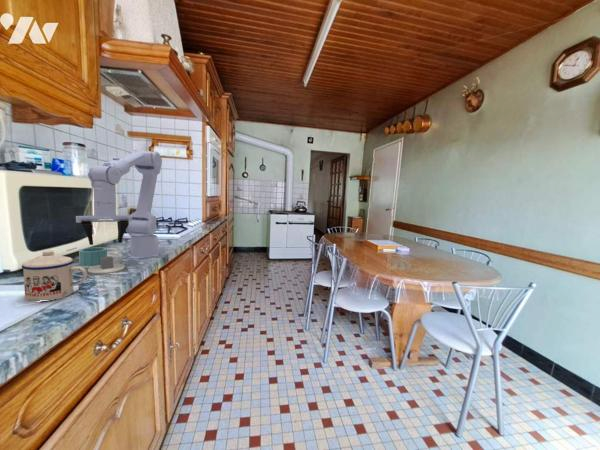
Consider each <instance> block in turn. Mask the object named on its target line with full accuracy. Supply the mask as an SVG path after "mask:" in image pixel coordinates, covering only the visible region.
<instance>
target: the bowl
mask: <svg viewBox="0 0 600 450" xmlns="http://www.w3.org/2000/svg"><path fill="white" fill-rule="evenodd" d="M100 257H108V248H107V247H102V246H101V247H98V246H97V247H85V248H81V249H79V250H78V258H79V259H78V260H79V265H80V266H81V267H82V266H84V267H93V266H96V265H100Z"/></svg>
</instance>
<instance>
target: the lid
mask: <svg viewBox="0 0 600 450" xmlns="http://www.w3.org/2000/svg"><path fill="white" fill-rule="evenodd" d="M89 267H90V268H89ZM89 267H87V268H88V272H89V273H93V274H102V275H105V274H104V273H109V274H113V272H115V273H118V272H117V271H121V270H123V269H124V268H125V267H126V266H125V264H123V263H122V264H121V263H114V258H113V256H107V257H100V265H94V266H89Z"/></svg>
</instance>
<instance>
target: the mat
mask: <svg viewBox="0 0 600 450" xmlns="http://www.w3.org/2000/svg"><path fill="white" fill-rule="evenodd" d="M120 264H123V263H120ZM90 267H91V266H88V267H84V269H85V270H86V271H87V275H88V276H89V277H94V276H100V275H101V276H102V275H107V274H110V273H104V274H93V273H89V272H88V268H90ZM127 271H130V269H128V268H127V267H126V266H125V268H124V269H123V270H121V271H117V272H113V273H115V274H116V273H121V272H127ZM113 273H112V274H113Z"/></svg>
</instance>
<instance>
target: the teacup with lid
mask: <svg viewBox="0 0 600 450" xmlns="http://www.w3.org/2000/svg"><path fill="white" fill-rule="evenodd" d="M73 263H74V260H73V258H72V257H70V256H64V255H61V254H58V253H57V254H56V253H55V252H54V250H52V249H51V250H44V251H42V254H41V255H38V256H36V257H34V258H32V259H29V260H26V261H25V262H23V263H22V265H21V268H22V269H23V271H22V272H23V284H24V285H23V286H24V287H23V289H24V300H25V301H26V302H31V301H40V300H52V299H56V300H55V301H57V300H61V299H63V298H68V297H67V296H70V295H71V294H72V293H73V292H74V287H75V286H79V285H81V284H82V283H83V282H84V281H86V279H87V276H88V273H87V271H86V270H85V267H82V266H73ZM73 270H74V271H80V272H81V274H82V278H81V279H80V281H76V282H74V276H73Z"/></svg>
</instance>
